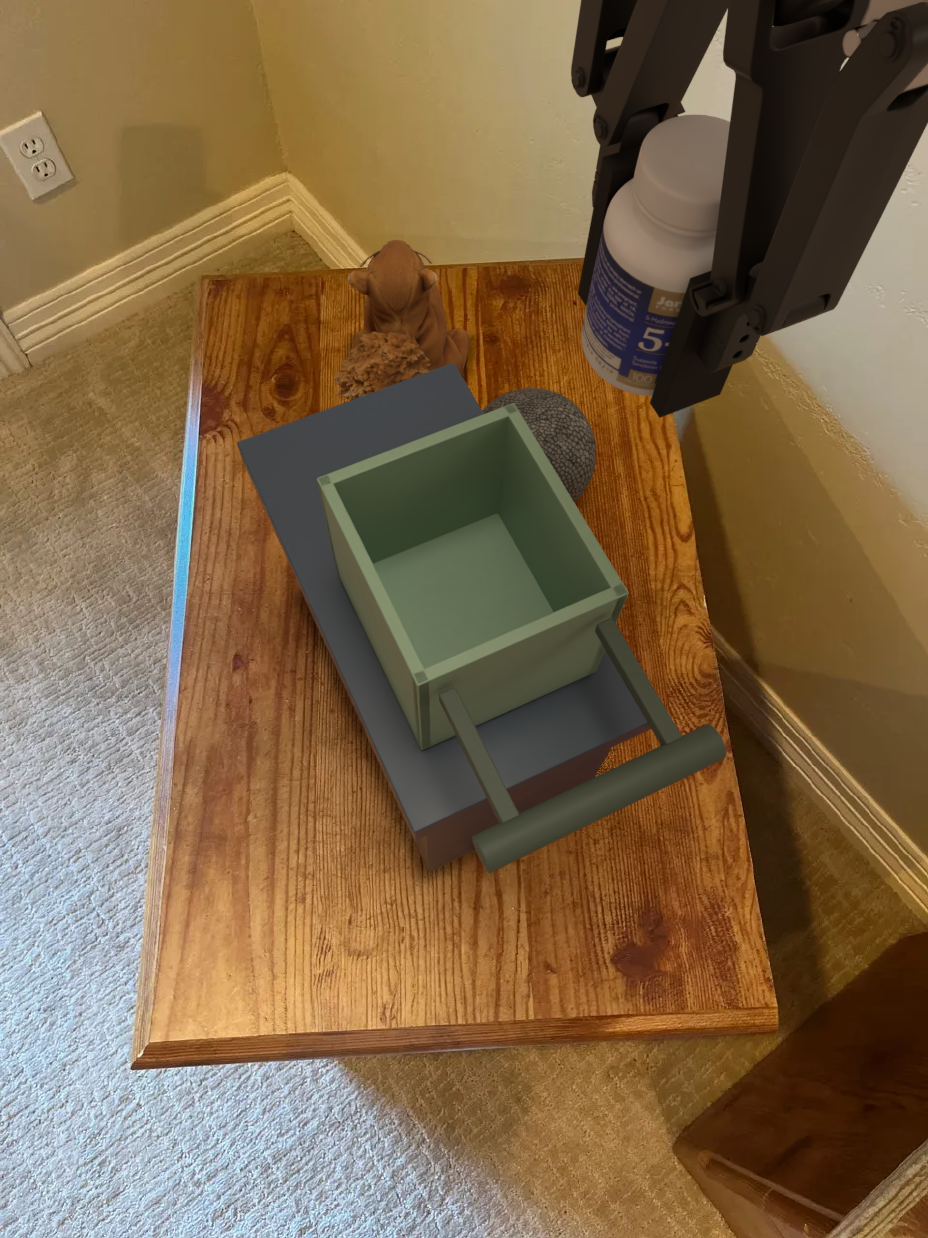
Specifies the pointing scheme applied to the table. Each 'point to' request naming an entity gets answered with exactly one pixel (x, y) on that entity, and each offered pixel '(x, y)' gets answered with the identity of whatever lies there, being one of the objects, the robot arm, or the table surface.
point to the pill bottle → (654, 250)
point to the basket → (493, 611)
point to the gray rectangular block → (419, 779)
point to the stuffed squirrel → (398, 324)
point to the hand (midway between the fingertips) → (647, 341)
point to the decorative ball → (557, 433)
